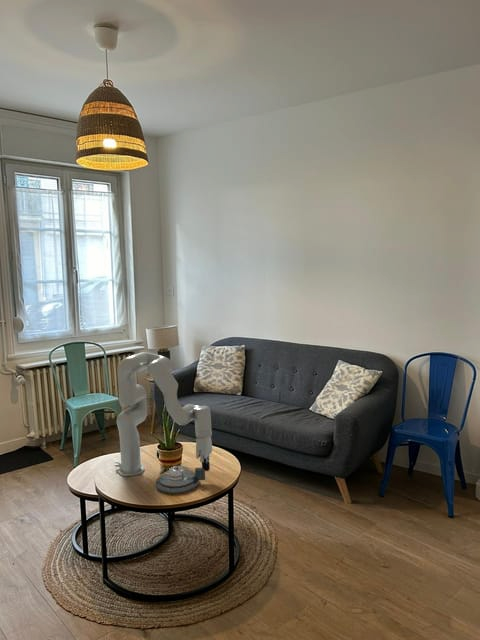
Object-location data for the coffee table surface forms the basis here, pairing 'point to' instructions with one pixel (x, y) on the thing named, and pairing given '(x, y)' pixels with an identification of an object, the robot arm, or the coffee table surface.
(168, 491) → the turntable base
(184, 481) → the round gray housing
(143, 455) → the coffee table surface
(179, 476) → the cover
